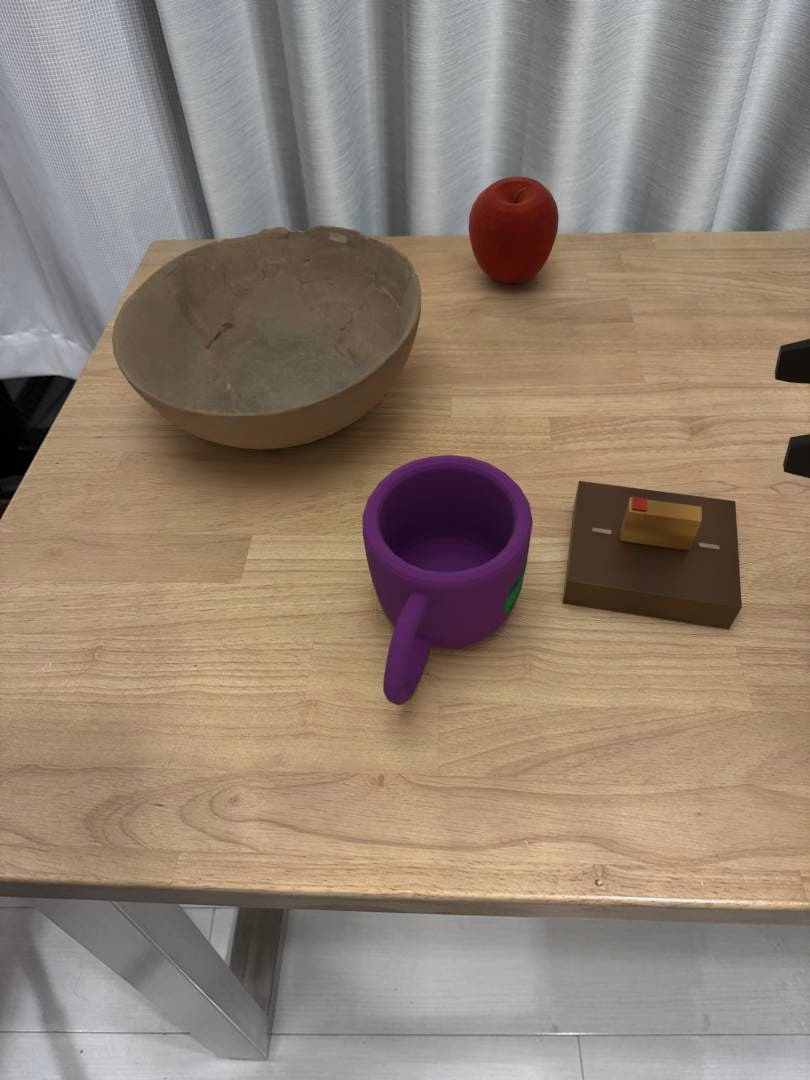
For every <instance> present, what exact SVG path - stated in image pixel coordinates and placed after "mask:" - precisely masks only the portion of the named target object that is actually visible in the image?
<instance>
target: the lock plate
mask: <svg viewBox="0 0 810 1080" xmlns="http://www.w3.org/2000/svg"><path fill="white" fill-rule="evenodd" d="M633 497H639V498H647V500H653V501H661V502H669V503H676V504H684V505H691V506H699V507H701V508H702V522H701V524H700V527H699V529H698V531H697V534H696V536H695V538H694V541H693V543H692V545H691V548H690V550H689V551H687V550H680V549H673V548H666V547H659V546H652V545H645V544H638V543H631V542H624V541H621V540H620V536H621V526H622V522H623V519H624V515H625V512H626V509H627V505H628V502H629V498H633ZM737 521H738V520H737V503H736V500H730V499H723V498H717V497H716V498H715V497H707V496H701V495H693V494H684V493H678V492H669V491H661V490H654V489H647V488H646V489H645V488H639V487H631V486H625V485H624V486H623V485H615V484H607V483H599V482H593V481H585V480H578V482H577V487H576V492H575V498H574V503H573V509H572V519H571V527H570V536H569V545H568V551H567V552H568V553H567V561H566V570H565V578H564V587H563V596H562V604H566V605H573V606H579V607H585V608H592V609H597V610H604V611H610V612H617V613H622V614H630V615H635V616H642V617H647V618H653V619H660V620H667V621H672V622H673V621H674V622H679V623H684V624H692V625H697V626H704V627H711V628H716V629H722V630H730V629H731V627H732V625H733V624H734V622H735V620H736V618H737V617H738V615H739V613H740V612H741V610H742V608H743V607H742V589H741V586H742V585H741V572H740V571H741V570H740V555H739V538H738V537H739V536H738V522H737Z"/></svg>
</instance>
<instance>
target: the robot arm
mask: <svg viewBox="0 0 810 1080" xmlns="http://www.w3.org/2000/svg"><path fill="white" fill-rule="evenodd" d="M774 380H775V381H780V382H784V383H791V384H801V385H802V384H805V385H806V384H807V385H810V338H806V339H802V340H799V341H793V342H790V343H786V344H781V345H780V346H779V351H778V353H777V360H776V364H775V368H774ZM782 467H783V468H782V469H783V473H787V474H790V475H794V476H798V477H801V478H802V477H803V478H806V479H810V433H808V434H801V435H794V436H790V437H789V440H788V444H787V448H786V451H785V455H784V459H783V462H782Z"/></svg>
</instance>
